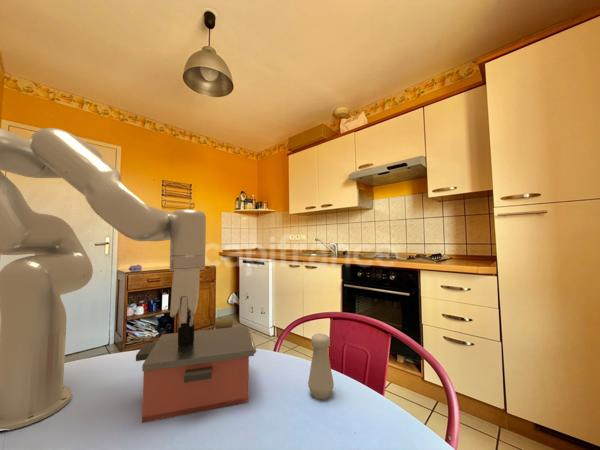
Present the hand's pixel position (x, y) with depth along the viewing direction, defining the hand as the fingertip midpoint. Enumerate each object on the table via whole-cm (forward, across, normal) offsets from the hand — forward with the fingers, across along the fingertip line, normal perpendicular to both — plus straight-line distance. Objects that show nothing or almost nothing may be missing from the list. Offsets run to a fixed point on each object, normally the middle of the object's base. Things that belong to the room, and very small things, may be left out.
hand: (186, 343), depth 57 cm
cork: (+12, -17, +8) cm, 22 cm away
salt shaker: (+12, +9, +29) cm, 33 cm away
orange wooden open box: (+11, 0, +3) cm, 12 cm away
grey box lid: (+1, 0, +3) cm, 3 cm away
